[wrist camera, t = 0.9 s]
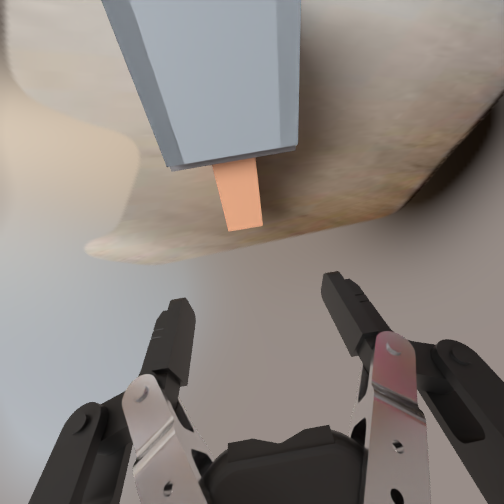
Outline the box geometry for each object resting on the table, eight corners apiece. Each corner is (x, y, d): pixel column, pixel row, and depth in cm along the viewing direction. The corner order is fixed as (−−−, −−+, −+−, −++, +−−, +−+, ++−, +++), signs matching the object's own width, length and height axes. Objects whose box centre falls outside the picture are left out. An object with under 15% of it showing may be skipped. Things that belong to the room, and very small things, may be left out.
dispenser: (267, -12, 14) (308, -124, 7) (274, 135, 20) (300, 153, 13) (143, 8, 14) (62, -83, 7) (187, 150, 20) (167, 176, 13)
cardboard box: (233, 23, 15) (237, -13, 10) (255, 201, 24) (263, 225, 20) (187, 31, 15) (169, -2, 10) (227, 206, 24) (228, 231, 20)
